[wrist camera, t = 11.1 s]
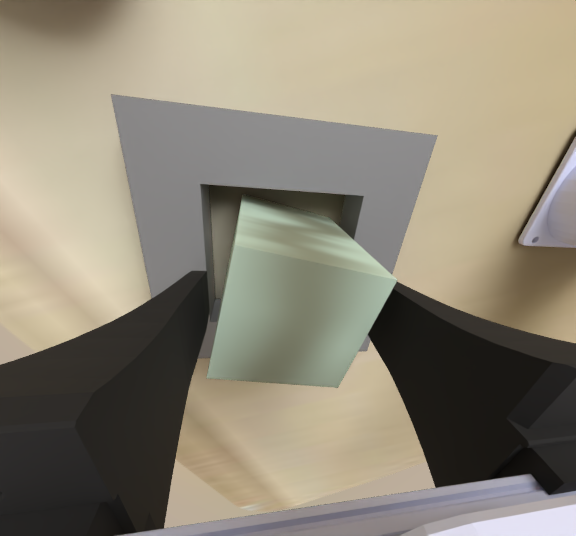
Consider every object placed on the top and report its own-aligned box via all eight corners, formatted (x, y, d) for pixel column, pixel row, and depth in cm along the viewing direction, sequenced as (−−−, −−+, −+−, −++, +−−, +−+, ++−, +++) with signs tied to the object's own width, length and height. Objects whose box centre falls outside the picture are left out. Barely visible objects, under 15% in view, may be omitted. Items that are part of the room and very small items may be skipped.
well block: (406, 137, 13) (437, 135, 11) (353, 328, 20) (366, 351, 18) (138, 104, 11) (111, 94, 9) (174, 332, 17) (163, 360, 15)
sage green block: (328, 217, 15) (397, 279, 8) (302, 289, 17) (338, 387, 10) (242, 193, 14) (234, 244, 7) (225, 275, 16) (206, 378, 9)
